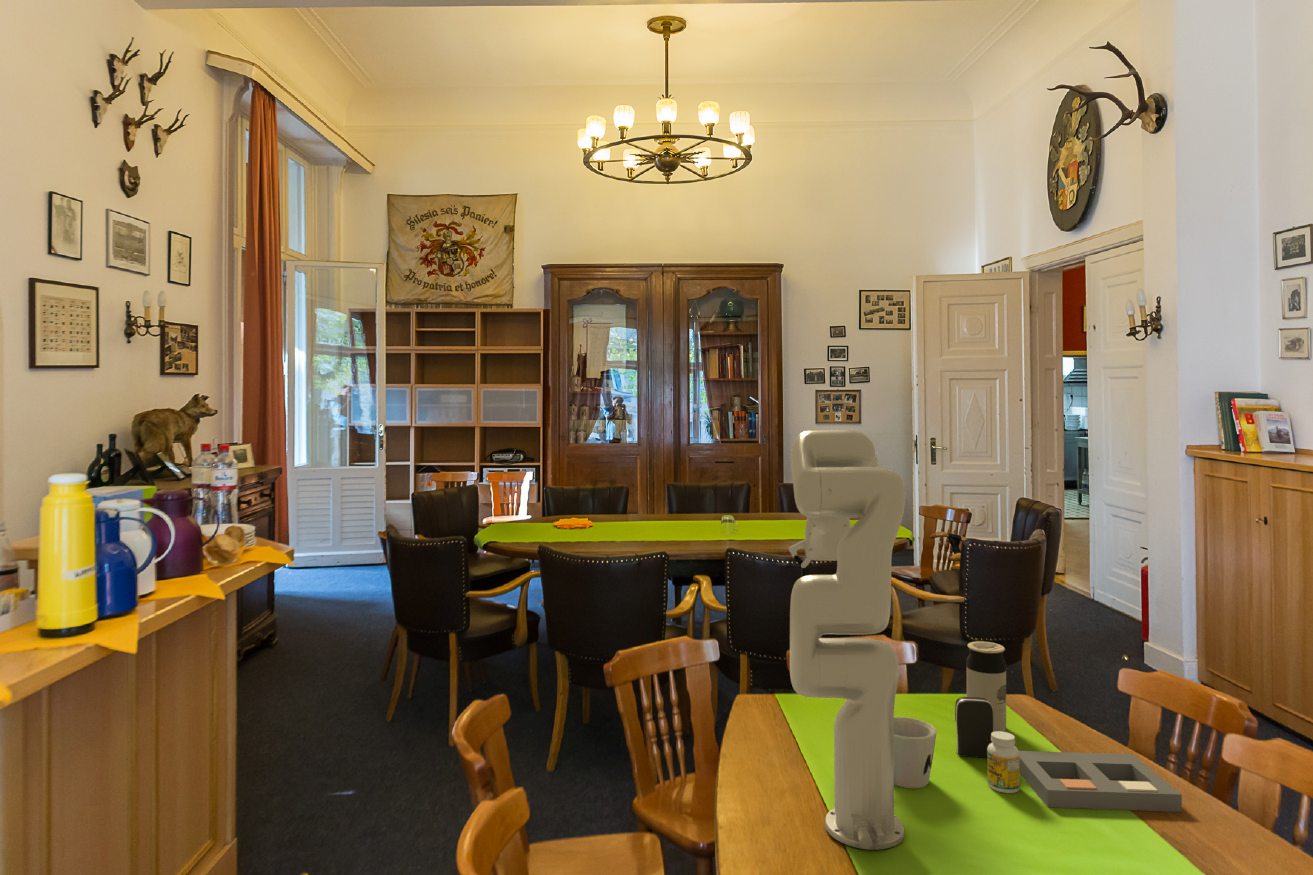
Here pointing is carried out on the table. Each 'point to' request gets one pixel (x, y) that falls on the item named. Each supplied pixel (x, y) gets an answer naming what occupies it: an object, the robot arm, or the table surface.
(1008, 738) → the supplement bottle
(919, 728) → the mug
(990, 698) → the travel mug
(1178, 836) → the table surface
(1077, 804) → the socket board
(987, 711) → the battery charger
